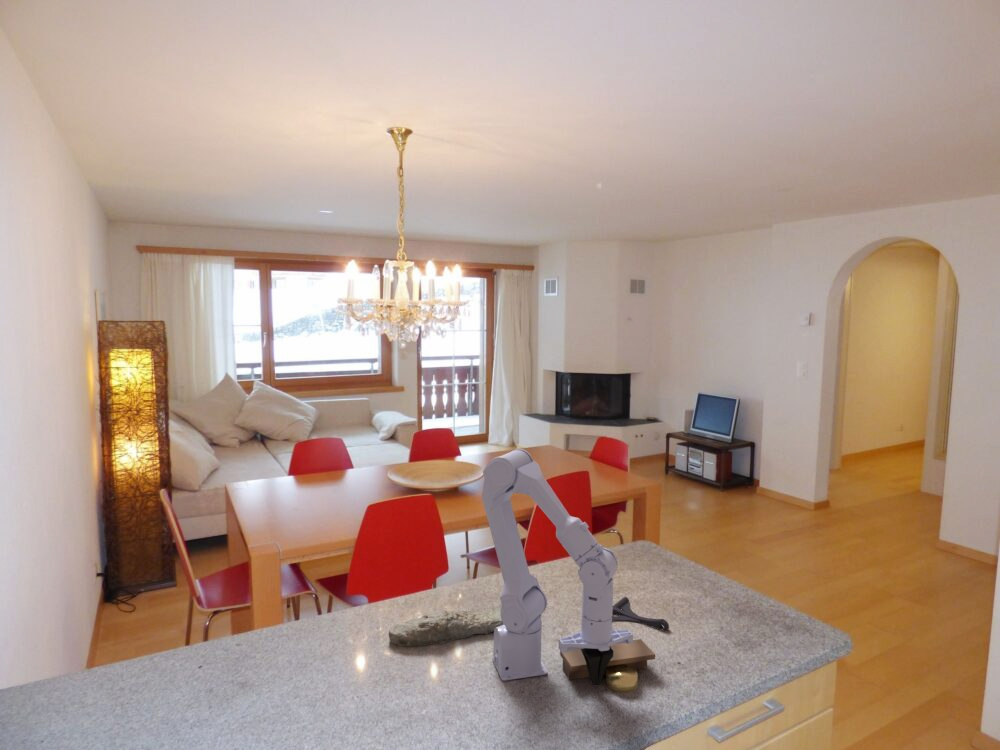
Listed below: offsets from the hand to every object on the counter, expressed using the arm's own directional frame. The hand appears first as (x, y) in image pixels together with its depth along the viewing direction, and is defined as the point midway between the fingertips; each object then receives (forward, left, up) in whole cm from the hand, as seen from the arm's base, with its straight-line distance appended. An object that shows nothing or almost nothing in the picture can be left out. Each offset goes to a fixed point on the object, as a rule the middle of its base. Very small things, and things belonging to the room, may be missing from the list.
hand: (594, 682), depth 118 cm
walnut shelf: (+5, +5, -1) cm, 7 cm away
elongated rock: (-19, +28, -2) cm, 34 cm away
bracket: (+21, +23, -2) cm, 31 cm away
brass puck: (+6, +1, -2) cm, 6 cm away
